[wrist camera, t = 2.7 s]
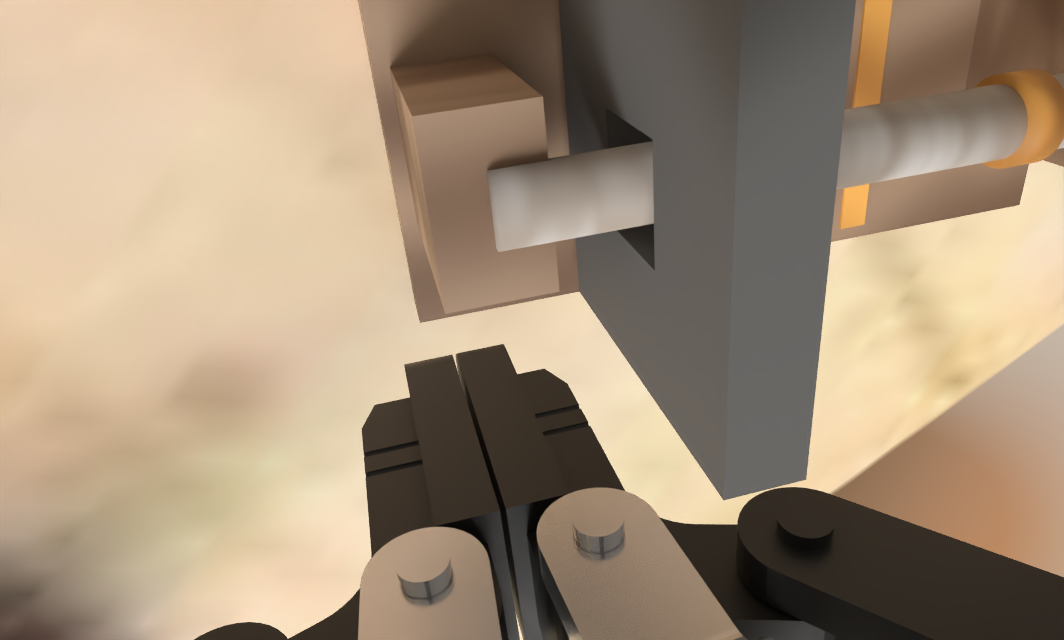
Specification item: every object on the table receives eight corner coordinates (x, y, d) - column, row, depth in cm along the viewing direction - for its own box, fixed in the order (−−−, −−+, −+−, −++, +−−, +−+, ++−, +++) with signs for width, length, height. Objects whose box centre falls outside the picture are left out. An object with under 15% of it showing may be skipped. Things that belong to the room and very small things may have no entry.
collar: (554, -65, 21) (744, -51, 12) (622, -74, 21) (863, -66, 12) (579, 290, 26) (723, 499, 17) (633, 280, 27) (806, 479, 17)
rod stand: (345, -65, 22) (360, -55, 14) (1058, -145, 26) (1384, -171, 18) (415, 302, 28) (453, 457, 20) (989, 192, 32) (1211, 284, 24)
